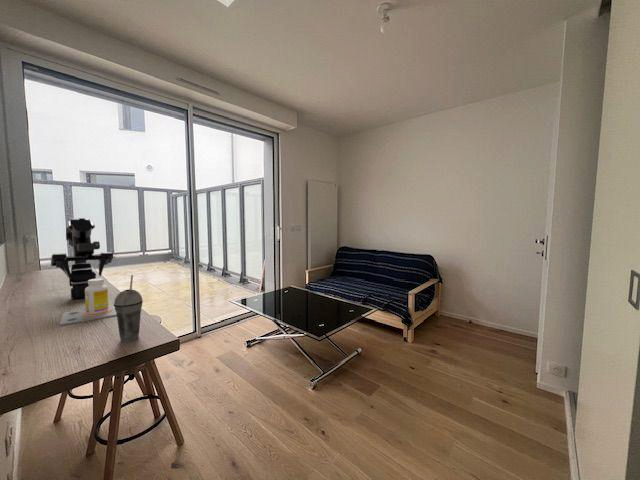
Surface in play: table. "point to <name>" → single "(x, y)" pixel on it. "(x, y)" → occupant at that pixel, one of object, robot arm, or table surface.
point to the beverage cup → (128, 313)
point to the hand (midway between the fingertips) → (85, 277)
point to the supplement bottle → (96, 296)
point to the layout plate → (85, 316)
